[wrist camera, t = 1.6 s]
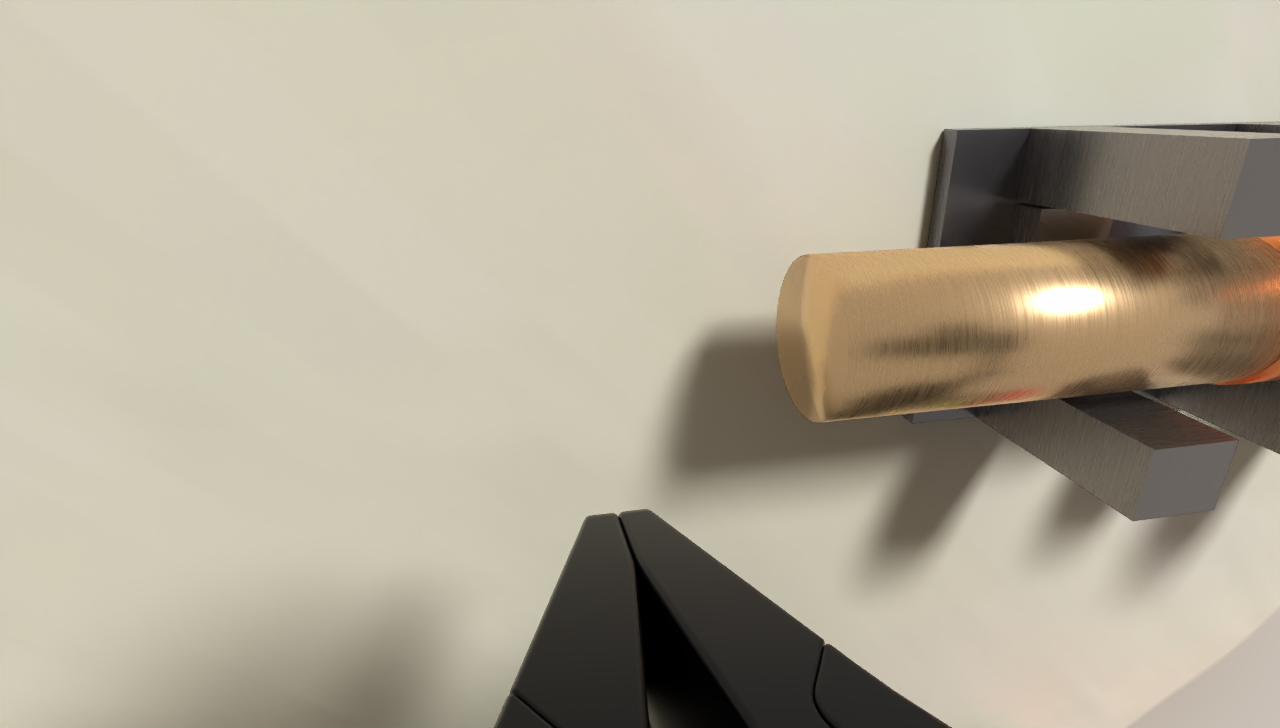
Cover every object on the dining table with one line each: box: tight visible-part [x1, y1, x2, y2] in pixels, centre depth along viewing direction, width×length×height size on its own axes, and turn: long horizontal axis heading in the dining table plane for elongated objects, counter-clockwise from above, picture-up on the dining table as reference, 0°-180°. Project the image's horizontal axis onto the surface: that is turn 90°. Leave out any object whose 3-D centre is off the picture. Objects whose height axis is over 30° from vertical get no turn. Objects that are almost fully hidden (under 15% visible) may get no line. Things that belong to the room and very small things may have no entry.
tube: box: [777, 234, 1280, 423], centre depth 17 cm, size 4×14×4 cm, turn 91°
